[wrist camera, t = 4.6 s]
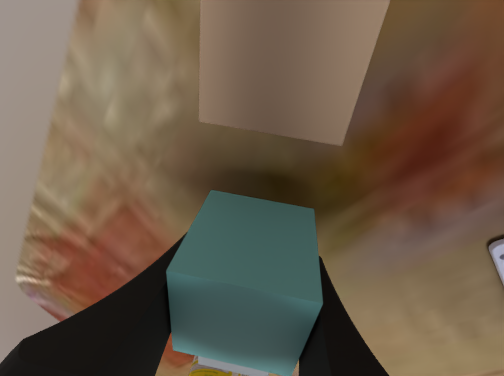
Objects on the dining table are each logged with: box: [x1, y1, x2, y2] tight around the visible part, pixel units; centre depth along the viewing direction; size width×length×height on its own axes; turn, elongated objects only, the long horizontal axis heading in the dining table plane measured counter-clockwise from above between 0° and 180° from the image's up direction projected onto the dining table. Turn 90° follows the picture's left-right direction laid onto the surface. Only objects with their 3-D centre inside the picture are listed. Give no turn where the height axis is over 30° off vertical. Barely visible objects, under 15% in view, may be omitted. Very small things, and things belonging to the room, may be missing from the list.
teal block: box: [166, 190, 323, 376], centre depth 11 cm, size 5×5×5 cm
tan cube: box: [199, 0, 390, 146], centre depth 10 cm, size 5×5×5 cm
